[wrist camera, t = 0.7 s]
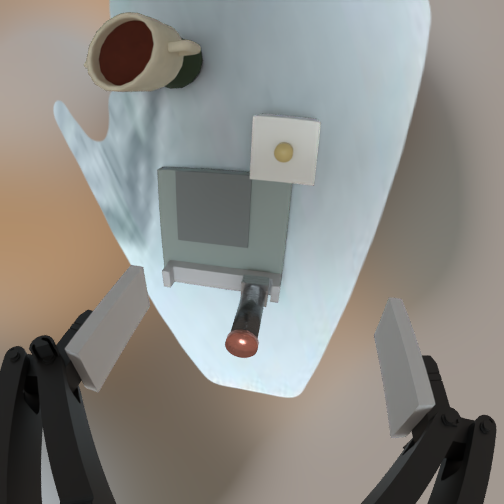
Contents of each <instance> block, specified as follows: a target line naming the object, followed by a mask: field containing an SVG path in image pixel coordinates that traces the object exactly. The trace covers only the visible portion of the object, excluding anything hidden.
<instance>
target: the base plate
mask: <svg viewBox="0 0 504 504" xmlns="http://www.w3.org/2000/svg"><path fill="white" fill-rule="evenodd" d="M157 171H158V193H159V210H160V224H161V236H162V248H163V258H164V269H163V270H162V275H163V283H164V286H166V287H171V286H172V285H173V283H174V282H181V283H187V284H194V285H200V286H207V287H214V288H221V289H228V290H235V291H241V282H242V279H243V275H244V274H247V275H255V276H263V277H270V281H269V291H268V295H271V299H270V302H275V303H278V300H279V293H280V285H281V277H282V269H283V261H284V252H285V244H286V235H287V227H288V218H289V208H290V199H291V189H292V183H285V182H276V181H266V180H255V179H250V172H243V171H230V170H215V169H197V168H175V167H162V168H160V169H158V170H157Z"/></svg>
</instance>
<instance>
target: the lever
mask: <svg viewBox="0 0 504 504" xmlns="http://www.w3.org/2000/svg"><path fill="white" fill-rule="evenodd" d="M269 281H270V277H263V276H255V275H247V274H244V275H243V279H242V282H241V299H240V303H239V306H238V309H237V313H236V316H235V319H234V323H233V326H232V329H231V332H230V333H229V334H228V336H227V339H226V342H225V347H226V349H227V350H228V352H230V353H231V354H232V355H234V356H237V357H241V358H247V357H251V356H253V355H255V354H256V352H257V349H258V344H259V342H258V339H257V338H258V333H259V328H260V323H261V318H262V313H263V307H266V305H267V299H268V291H269Z"/></svg>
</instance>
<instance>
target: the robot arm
mask: <svg viewBox="0 0 504 504" xmlns="http://www.w3.org/2000/svg"><path fill="white" fill-rule="evenodd" d="M149 307H150V303H149V298H148V292H147V287H146V281H145V275H144V269H143V267H141V266H134V265H131V266H130V267H129V268H128V269H127V271H126V272H125V273H124V274H123V275H122V276H121V278H120V279H119V280H118V281H117V282H116V284H115V285H114V286H113V287H112V288H111V290H110V291H109V292H108V293H107V295H106V296H105V297H104V299H102V301H101V302H100V303H99V305H98V306H97V307H96V308H95V310H94V311H91V310H87V311H85V312H84V313H82V314H81V315H80V316H79V317H78V318H77V319H76V321H75V322H74V324H72V326H71V327H70V329H68V331H67V332H66V333H65V335H64V336H63V337H62V339H61V340H60V341H59V342H58V344H57V345H55V342H54V340H53V339H52V338H51V337H50V336H46V335H44V336H40V337H37V338H36V339H35V340H33V341H32V343H31V344H30V348H29V350H30V351H31V353H32V355H31V354H27V353H26V352H25V350H24V349H23V348H22V347H20V346H16V347H13V348H11V349H9V350H8V351H7V353H6V354H5V357H4V360H3V363H2V367H1V370H0V504H42V497H41V446H42V429H43V430H44V437H45V442H46V447H47V452H48V457H49V462H50V466H51V470H52V474H53V478H54V481H55V485H56V489H57V492H58V496H59V499H60V504H116V502H115V499H114V497H113V495H112V492H111V490H110V487H109V485H108V482H107V480H106V477H105V474H104V472H103V469H102V466H101V463H100V460H99V457H98V454H97V451H96V448H95V445H94V442H93V438H92V435H91V431H90V428H89V424H88V420H87V416H86V413H85V409H84V405H83V400H82V396H81V391H80V388H79V386H78V385H79V383H80V382H81V380H82V382H83V384H84V386H85V387H86V388H88V389H91V390H93V391H96V392H99V390H100V389H101V387H102V385H103V383H104V381H105V380H106V378H107V376H108V375H109V373H110V371H111V369H112V368H113V366H114V364H115V363H116V361H117V359H118V357H119V356H120V354H121V352H122V351H123V349H124V347H125V346H126V344H127V342H128V341H129V339H130V337H131V336H132V334H133V332H134V331H135V329H136V328H137V326H138V324H139V323H140V321H141V320H142V318H143V316H144V315H145V313H146V312H147V310H148V308H149ZM374 338H375V343H376V348H377V353H378V358H379V363H380V369H381V374H382V380H383V386H384V392H385V398H386V405H387V413H388V420H389V428H390V436H391V438H399V437H406V436H407V435H408V434H409V433H410V432H411V431H412V435H413V438H412V439H411V440H410V441H409V442H408V443H407V444H406V445H405V446H404V447H403V448H404V450H403V452H402V453H401V455H400V456H399V457H398V459H397V460H396V461H395V463H394V464H393V465H392V467H391V468H390V469H389V471H388V472H387V473H386V474H385V476H384V477H383V478H382V480H381V481H380V482H379V483H378V484H377V486H376V487H375V488H374V489H373V490H372V492H371V493H370V494H369V495H368V496H367V497H366V498H365V500H364V501H363V502H362V503H361V504H416V502H417V501H418V499H419V498H420V497H421V495H422V493H423V492H424V490H425V489H426V487H427V486H428V484H429V483H430V481H431V479H432V478H433V476H434V474H435V473H436V471H437V469H438V468H439V466H440V469H439V472H438V475H437V478H436V481H435V484H434V487H433V490H432V493H431V496H430V498H429V501H428V504H483V502H484V498H485V494H486V489H487V486H488V481H489V476H490V471H491V465H492V460H493V453H494V446H495V438H496V424H495V422H494V420H493V419H492V418H491V417H490V416H488V415H481V416H479V417H478V418H477V419H476V420H475V421H474V420H469V419H465V418H461V417H460V415H459V413H458V412H457V411H456V410H455V409H453V408H451V407H450V406H449V402H448V399H447V395H446V392H445V389H444V385H443V382H442V381H441V380H442V379H441V376H440V374H439V370H438V366H437V363H436V362H435V361H434V360H433V358H432V357H431V356H422V355H421V352H420V349H419V346H418V343H417V340H416V337H415V334H414V331H413V328H412V325H411V322H410V319H409V317H408V314H407V311H406V309H405V306H404V303H403V301H402V299H399V298H389V299H388V301H387V304H386V307H385V309H384V312H383V314H382V317H381V319H380V322H379V325H378V327H377V329H376V332H375V334H374ZM440 464H441V465H440Z"/></svg>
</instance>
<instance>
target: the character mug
mask: <svg viewBox="0 0 504 504" xmlns="http://www.w3.org/2000/svg"><path fill="white" fill-rule="evenodd" d="M201 65H202V55H201V47H200V45H199V44H197V43H195V42H193V41H190V40H185V39H182V38H181V37H180V35H179V33H178V32H177V31H176V30H175V29H174V28H172V27H171V26H168V25H166V24H163V23H161V22H160V21H158V20H156V19H153V18H151V17H147V16H144V15H142V14H139V13H131V12H127V13H122V14H119V15H117V16H114V17H113V18H111V19H110V20H108V21H107V22H106V23H105V24H104V25H103V26H102V27H101V28H100V29H99V30H98V31H97V32H96V34H95V36H94V38H93V40H92V41H91V43H90V45H89V50H88V54H87V59H86V62H85V64H84V66H85V68H86V69H88V74H89V75H90V77H91V78H92V80H93V82H94V83H95V84H96V85H97V86H99V87H100V88H102V89H104V90H105V91H118V92H133V91H153V90H156V89H159V88H162V87H167V88H171V89H172V88H183V87H184V86H186V85H188V84H189V83H191V82H193V80H194V79H195V78H196V76H197V75H198V74H199V72H200V69H201Z"/></svg>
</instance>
